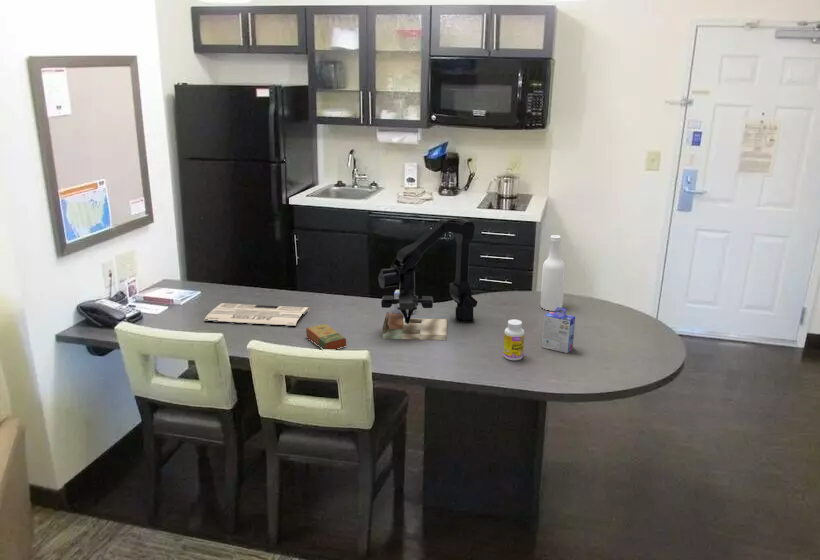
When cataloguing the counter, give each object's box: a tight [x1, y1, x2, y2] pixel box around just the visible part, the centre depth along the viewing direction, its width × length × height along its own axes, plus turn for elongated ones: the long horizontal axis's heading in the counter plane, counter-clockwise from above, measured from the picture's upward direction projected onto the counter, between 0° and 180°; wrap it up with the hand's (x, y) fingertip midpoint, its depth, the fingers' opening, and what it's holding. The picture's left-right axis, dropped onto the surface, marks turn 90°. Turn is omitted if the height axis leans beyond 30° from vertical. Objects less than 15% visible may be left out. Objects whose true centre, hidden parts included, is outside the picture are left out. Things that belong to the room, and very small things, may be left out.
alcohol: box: [540, 234, 566, 312], centre depth 266 cm, size 9×9×30 cm
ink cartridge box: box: [541, 307, 576, 354], centre depth 232 cm, size 10×6×14 cm, turn 58°
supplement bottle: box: [503, 318, 525, 361], centre depth 226 cm, size 7×7×13 cm
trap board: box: [382, 311, 448, 341], centre depth 249 cm, size 23×15×4 cm, turn 86°
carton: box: [305, 323, 347, 349], centre depth 240 cm, size 8×16×4 cm, turn 33°
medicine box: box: [393, 289, 416, 315], centre depth 267 cm, size 8×4×9 cm, turn 84°
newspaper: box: [204, 302, 311, 327], centre depth 264 cm, size 37×19×3 cm, turn 81°
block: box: [389, 313, 404, 329], centre depth 248 cm, size 5×5×4 cm
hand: (407, 323), depth 249 cm, fingers closed
